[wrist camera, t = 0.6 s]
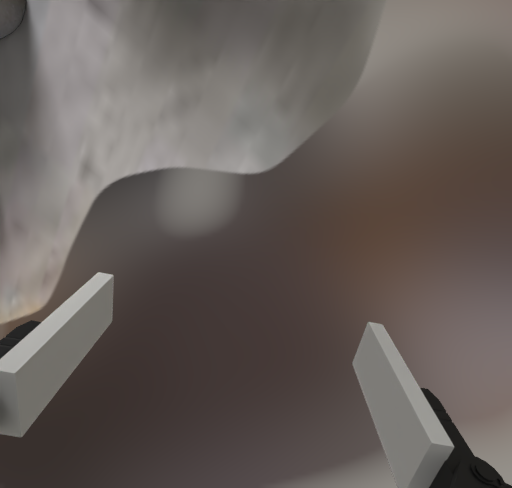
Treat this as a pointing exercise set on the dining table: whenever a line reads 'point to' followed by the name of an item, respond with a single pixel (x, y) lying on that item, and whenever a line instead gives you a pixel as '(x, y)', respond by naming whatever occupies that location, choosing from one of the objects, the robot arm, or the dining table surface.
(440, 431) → the robot arm
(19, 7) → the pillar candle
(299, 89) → the dining table surface
